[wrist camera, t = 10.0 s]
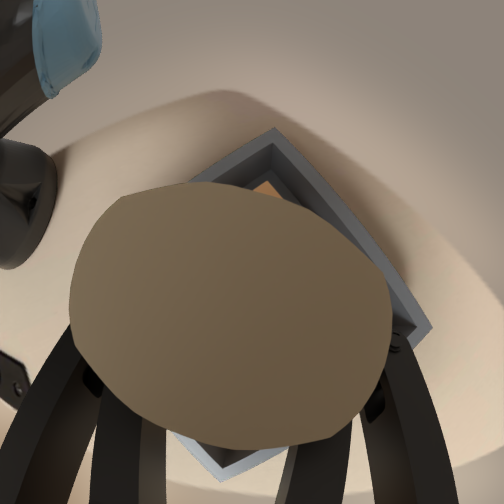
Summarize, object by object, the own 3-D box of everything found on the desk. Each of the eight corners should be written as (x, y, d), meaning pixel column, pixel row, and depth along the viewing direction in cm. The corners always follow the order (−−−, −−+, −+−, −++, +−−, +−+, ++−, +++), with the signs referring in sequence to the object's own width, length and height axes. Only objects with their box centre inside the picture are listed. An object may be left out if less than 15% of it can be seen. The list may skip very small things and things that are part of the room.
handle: (217, 265, 20) (117, 160, 5) (302, 290, 19) (412, 241, 5) (197, 328, 19) (53, 365, 4) (282, 354, 19) (339, 470, 4)
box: (106, 281, 22) (73, 273, 17) (272, 160, 23) (274, 127, 18) (227, 451, 18) (220, 482, 14) (400, 325, 20) (432, 327, 15)
